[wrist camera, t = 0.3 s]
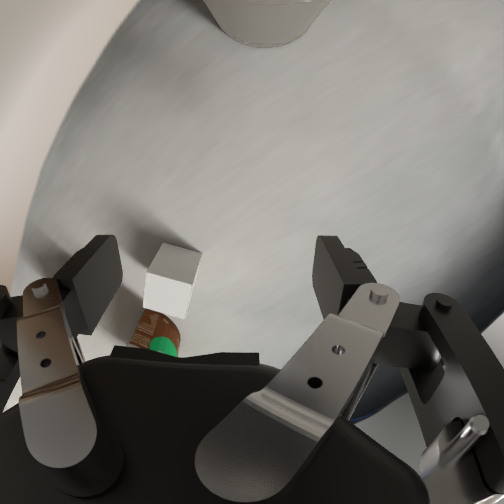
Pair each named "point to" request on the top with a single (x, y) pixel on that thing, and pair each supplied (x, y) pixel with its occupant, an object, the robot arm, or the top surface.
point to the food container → (156, 334)
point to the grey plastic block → (171, 280)
